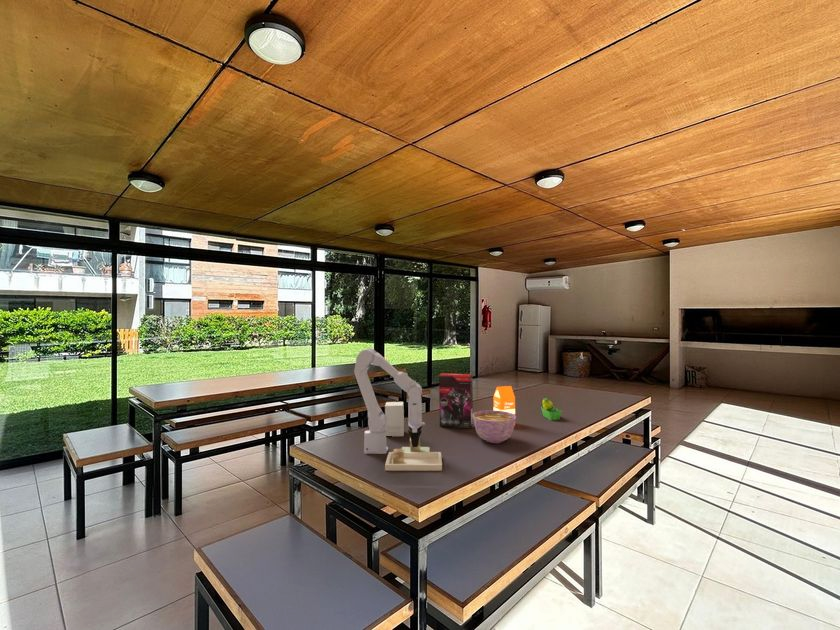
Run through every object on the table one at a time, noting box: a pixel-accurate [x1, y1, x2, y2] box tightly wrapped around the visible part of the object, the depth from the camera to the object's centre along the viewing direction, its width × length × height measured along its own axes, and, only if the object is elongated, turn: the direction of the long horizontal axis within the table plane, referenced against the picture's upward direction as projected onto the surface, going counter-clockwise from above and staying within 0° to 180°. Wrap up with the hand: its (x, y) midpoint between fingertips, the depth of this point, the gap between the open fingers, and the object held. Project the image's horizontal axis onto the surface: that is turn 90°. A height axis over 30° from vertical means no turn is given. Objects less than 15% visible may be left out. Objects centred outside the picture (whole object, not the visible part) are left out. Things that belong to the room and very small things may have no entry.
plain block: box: [392, 448, 404, 464], centre depth 154 cm, size 4×4×5 cm
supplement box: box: [384, 401, 405, 437], centre depth 194 cm, size 9×9×15 cm
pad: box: [401, 446, 431, 452], centre depth 168 cm, size 12×10×1 cm
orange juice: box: [492, 385, 516, 416], centre depth 211 cm, size 8×9×20 cm
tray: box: [384, 451, 443, 472], centre depth 154 cm, size 21×14×2 cm, turn 89°
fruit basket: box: [540, 397, 563, 421], centre depth 223 cm, size 11×9×11 cm
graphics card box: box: [438, 372, 474, 429], centre depth 207 cm, size 17×7×27 cm, turn 73°
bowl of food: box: [472, 409, 517, 444], centre depth 183 cm, size 20×20×12 cm
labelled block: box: [409, 436, 421, 452], centre depth 168 cm, size 4×4×5 cm
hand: (415, 444), depth 168 cm, fingers open, 5 cm apart
